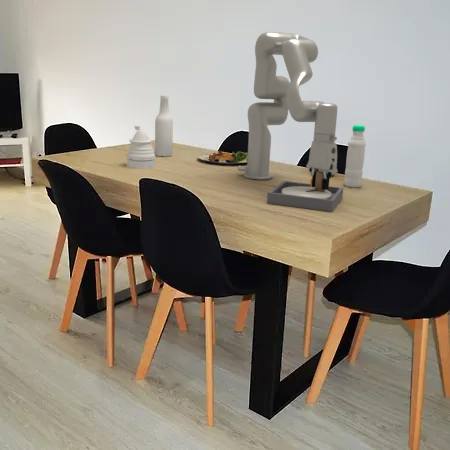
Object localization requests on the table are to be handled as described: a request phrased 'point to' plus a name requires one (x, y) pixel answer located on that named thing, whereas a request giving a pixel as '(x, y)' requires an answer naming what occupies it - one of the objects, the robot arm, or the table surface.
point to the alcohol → (163, 129)
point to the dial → (310, 189)
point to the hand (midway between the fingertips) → (319, 187)
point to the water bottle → (355, 157)
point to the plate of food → (225, 157)
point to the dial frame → (301, 201)
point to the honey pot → (140, 151)
